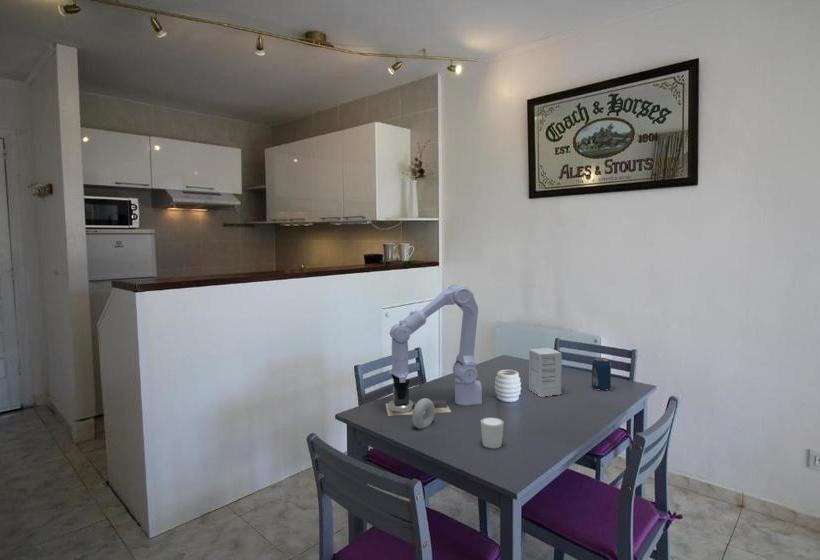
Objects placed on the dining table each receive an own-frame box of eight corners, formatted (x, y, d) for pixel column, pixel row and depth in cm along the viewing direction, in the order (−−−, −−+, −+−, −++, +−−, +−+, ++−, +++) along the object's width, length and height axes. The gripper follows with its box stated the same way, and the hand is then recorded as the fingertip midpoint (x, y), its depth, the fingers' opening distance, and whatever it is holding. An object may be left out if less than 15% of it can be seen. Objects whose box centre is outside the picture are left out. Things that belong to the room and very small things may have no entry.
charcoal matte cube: (407, 399, 171) (407, 382, 170) (408, 404, 166) (408, 387, 165) (393, 399, 170) (393, 383, 169) (394, 404, 165) (394, 387, 164)
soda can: (611, 387, 192) (612, 358, 190) (608, 392, 186) (609, 362, 185) (593, 384, 195) (594, 356, 194) (589, 389, 190) (590, 360, 188)
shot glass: (478, 439, 145) (478, 417, 144) (500, 438, 145) (500, 416, 145) (483, 449, 138) (483, 426, 137) (506, 448, 139) (506, 425, 138)
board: (444, 403, 176) (444, 400, 176) (451, 415, 164) (451, 411, 164) (385, 406, 174) (385, 403, 173) (388, 419, 162) (388, 415, 162)
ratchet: (444, 401, 175) (444, 389, 174) (449, 410, 166) (449, 397, 165) (387, 404, 172) (386, 392, 172) (389, 414, 163) (388, 401, 163)
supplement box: (561, 395, 183) (562, 352, 181) (540, 397, 181) (540, 354, 179) (548, 387, 192) (549, 347, 191) (528, 390, 190) (528, 348, 188)
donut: (419, 435, 148) (418, 404, 147) (410, 432, 151) (409, 402, 150) (437, 425, 156) (436, 395, 155) (428, 422, 158) (428, 393, 157)
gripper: (386, 354, 173) (387, 390, 174) (390, 364, 159) (391, 404, 160) (406, 353, 174) (406, 389, 175) (411, 363, 160) (411, 403, 161)
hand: (400, 396), depth 168 cm, fingers closed on charcoal matte cube, 5 cm apart
